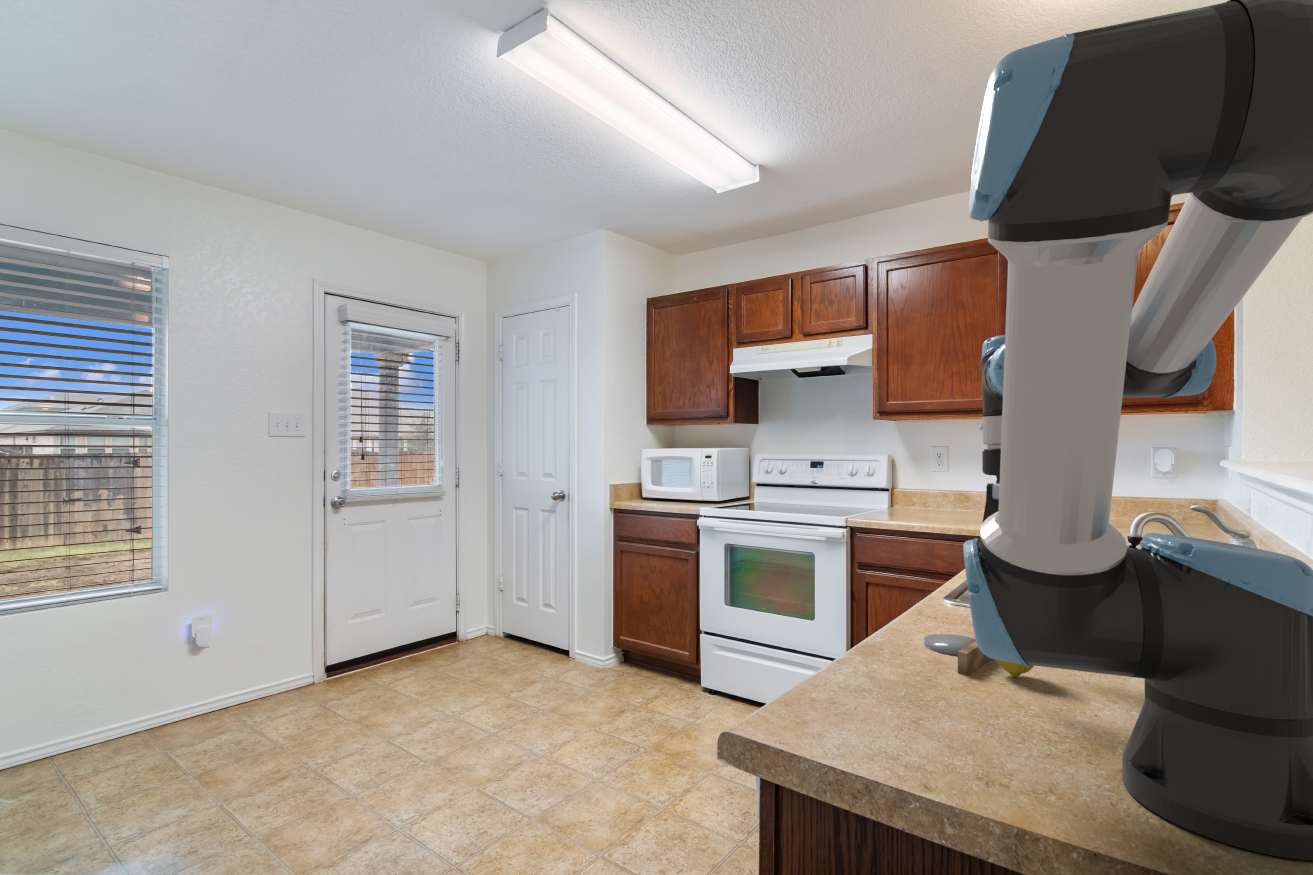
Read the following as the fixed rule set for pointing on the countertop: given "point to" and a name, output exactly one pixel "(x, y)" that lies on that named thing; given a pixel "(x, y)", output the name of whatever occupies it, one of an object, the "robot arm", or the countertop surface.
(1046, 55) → the robot arm
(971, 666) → the divider
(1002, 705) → the countertop surface
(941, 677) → the countertop surface
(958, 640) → the coaster
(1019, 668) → the lemon
